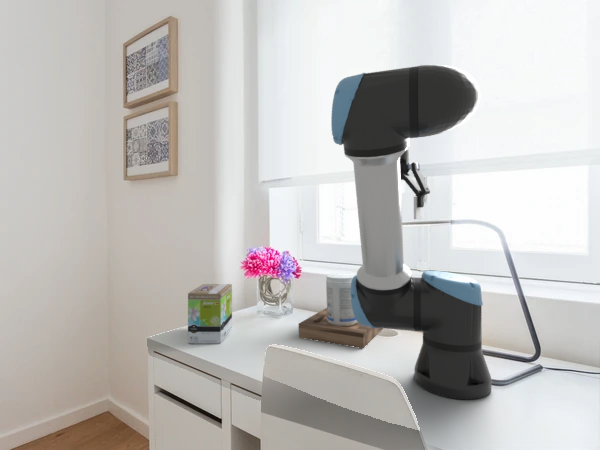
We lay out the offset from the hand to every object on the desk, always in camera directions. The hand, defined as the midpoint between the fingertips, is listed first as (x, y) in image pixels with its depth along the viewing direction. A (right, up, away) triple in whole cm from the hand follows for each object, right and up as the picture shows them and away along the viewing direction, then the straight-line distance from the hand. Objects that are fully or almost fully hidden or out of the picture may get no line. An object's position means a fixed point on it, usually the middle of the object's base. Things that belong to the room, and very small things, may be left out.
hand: (397, 219), depth 109 cm
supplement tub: (-17, -32, +1) cm, 36 cm away
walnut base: (-16, -35, +1) cm, 39 cm away
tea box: (-57, -36, 0) cm, 67 cm away
